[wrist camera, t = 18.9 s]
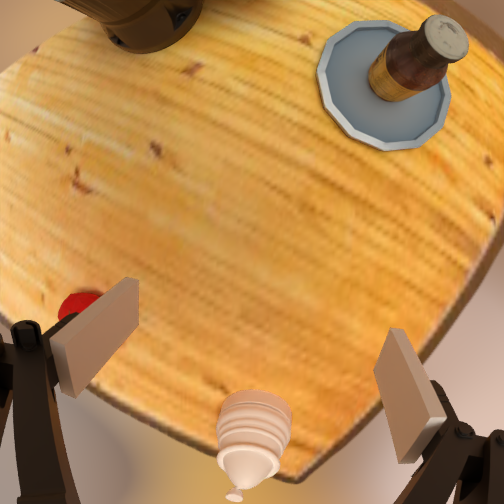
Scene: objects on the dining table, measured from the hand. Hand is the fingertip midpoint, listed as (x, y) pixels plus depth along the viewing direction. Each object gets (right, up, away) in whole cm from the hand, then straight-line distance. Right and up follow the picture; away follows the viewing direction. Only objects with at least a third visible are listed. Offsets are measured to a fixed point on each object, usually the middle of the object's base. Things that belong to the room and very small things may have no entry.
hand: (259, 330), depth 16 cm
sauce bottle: (+17, +26, +20) cm, 37 cm away
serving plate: (+17, +26, +20) cm, 37 cm away
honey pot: (0, -26, +38) cm, 46 cm away
